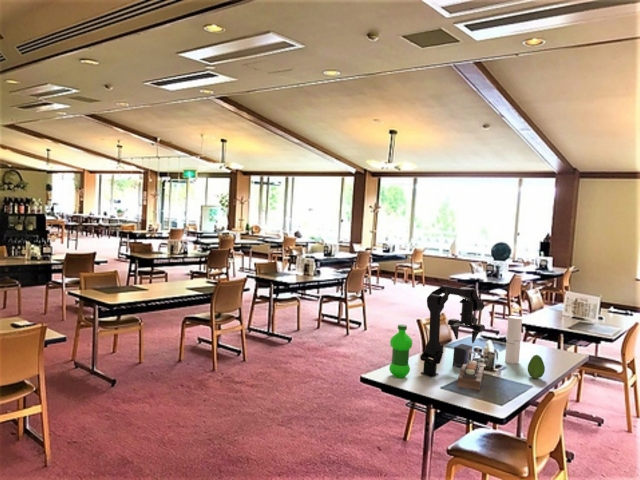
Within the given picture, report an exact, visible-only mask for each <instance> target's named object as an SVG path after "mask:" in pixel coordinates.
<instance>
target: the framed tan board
mask: <svg viewBox="0 0 640 480" xmlns="http://www.w3.org/2000/svg"><path fill="white" fill-rule="evenodd" d="M467 365H469V363H467V364H463V366H462V368H460V372H459V374H458V377H457V381H456V382H457V384H456V385H457V386H456V387H457V388H463V389H470V390H475V389H476V390H475V391H480V390H481V386H482V381H483V377H484V370H485V369H484V367H485V366H482V365H481V366H480V364H479V363H477V366H476V370H475V375H467V374H466V369H467Z"/></svg>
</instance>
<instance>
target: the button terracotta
mask: <svg viewBox="0 0 640 480" xmlns="http://www.w3.org/2000/svg"><path fill="white" fill-rule="evenodd" d="M467 369H473V370H476V366H475V365H467Z"/></svg>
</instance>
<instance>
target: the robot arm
mask: <svg viewBox="0 0 640 480" xmlns="http://www.w3.org/2000/svg"><path fill="white" fill-rule="evenodd" d="M442 294H443V295H442ZM450 295H453V296H459V297H460V298H462V300H460V301H459V303H460V304H461V313H459V315H460V319H457V318H451V319H448V321H447V326H449V327H450V328H451V330H452V332H453V334H454V335H453V336H454V338H455V340H458V339H459V328H460V327H461V326H462V327H466V328H471V329H472V331H471V343H472V344H475V341H476V339H477V337H478V335H479V334H480V333H483V332H485V331H486V326H485V324H481V323H478V318H477V317H475V314H474V312H480V311H483V310H484V308H485V304H484V301H483V300H482V298H481V297H479V295H478V292H477V290H476V289H475V288H473V287H472V288H471V287H465V286H463V287H460V288H459V287H453V286H449V285H443V284H442V285H440V286H439V287H438V288H437V289H435V290H433V291H432V292H431V293H430V294H429V295H428V296H427V297H426V306H427V307H426V308H427V309H428V310H429V333H428V334H429V335H428V342H427V343H426V344H425V348H424V351H423V352H422V354H420V357H419V358H420V361H422V362H423V369H422V370H423V371H420V374H422V375H425V376H427V377H430V378H431V377H434V376H439V373H437V369H438V368H437V366H438V365H440V364H441V361H442V358H443V354H444V344H441V342H440V333H441V332H440V331H441V330H440V329H441V313H442V311H443V310H444V308H445V304H446V303H447V301H449V297H450Z"/></svg>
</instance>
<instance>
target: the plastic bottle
mask: <svg viewBox="0 0 640 480" xmlns="http://www.w3.org/2000/svg"><path fill="white" fill-rule="evenodd" d="M407 328H408V326H407V325H406V324H398V325H397V330H398V332H396V334H394V335H393V336H392V337H391V338H390V343H389V344H390V347H391V348H392V353H391V354H392V355H391V363H390V365H389V373H390V374H391V375H393V377H394V378H398V379H404V378H406V377H407V376H408V374H409V373H410V371H411V367H410V364H409V358H410V356H409V355H410V350H411V348H412V347H413V339H412V338H411V336H410V335H409V334H407V332H406V330H407Z"/></svg>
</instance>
